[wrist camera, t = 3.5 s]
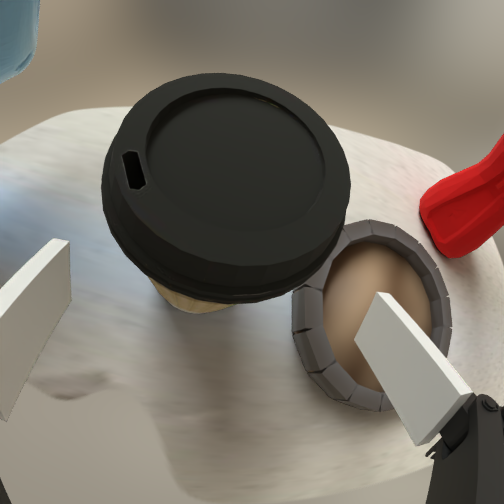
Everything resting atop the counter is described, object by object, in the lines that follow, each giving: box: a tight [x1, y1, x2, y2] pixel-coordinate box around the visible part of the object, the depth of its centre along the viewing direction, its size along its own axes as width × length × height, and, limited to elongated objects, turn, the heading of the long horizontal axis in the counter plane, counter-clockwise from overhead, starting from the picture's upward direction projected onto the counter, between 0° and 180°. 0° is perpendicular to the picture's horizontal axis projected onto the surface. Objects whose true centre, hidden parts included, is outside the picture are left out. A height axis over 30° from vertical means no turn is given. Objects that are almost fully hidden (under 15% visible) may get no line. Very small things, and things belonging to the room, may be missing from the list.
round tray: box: [292, 219, 452, 412], centre depth 25 cm, size 17×17×2 cm
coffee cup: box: [101, 73, 351, 314], centre depth 17 cm, size 10×10×15 cm
